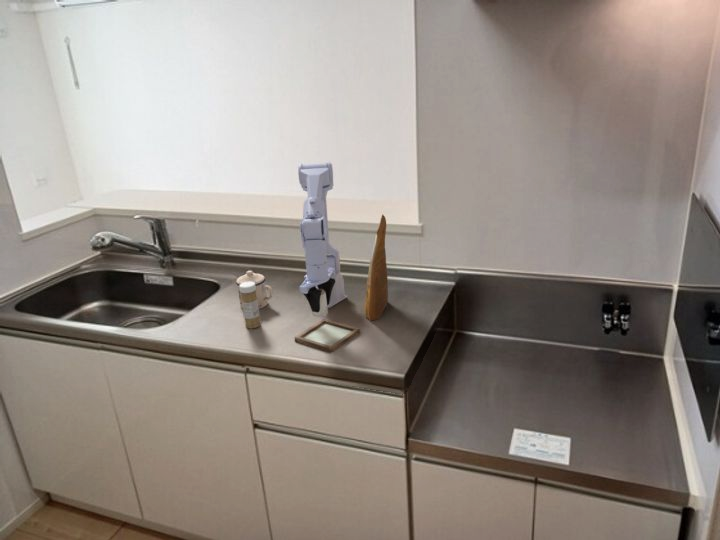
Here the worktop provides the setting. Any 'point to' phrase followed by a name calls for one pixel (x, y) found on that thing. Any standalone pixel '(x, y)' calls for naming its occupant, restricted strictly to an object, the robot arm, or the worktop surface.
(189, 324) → the worktop surface
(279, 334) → the worktop surface
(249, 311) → the sprinkles bottle
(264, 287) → the teacup with lid
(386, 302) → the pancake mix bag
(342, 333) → the rest tray
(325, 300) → the salt cellar
